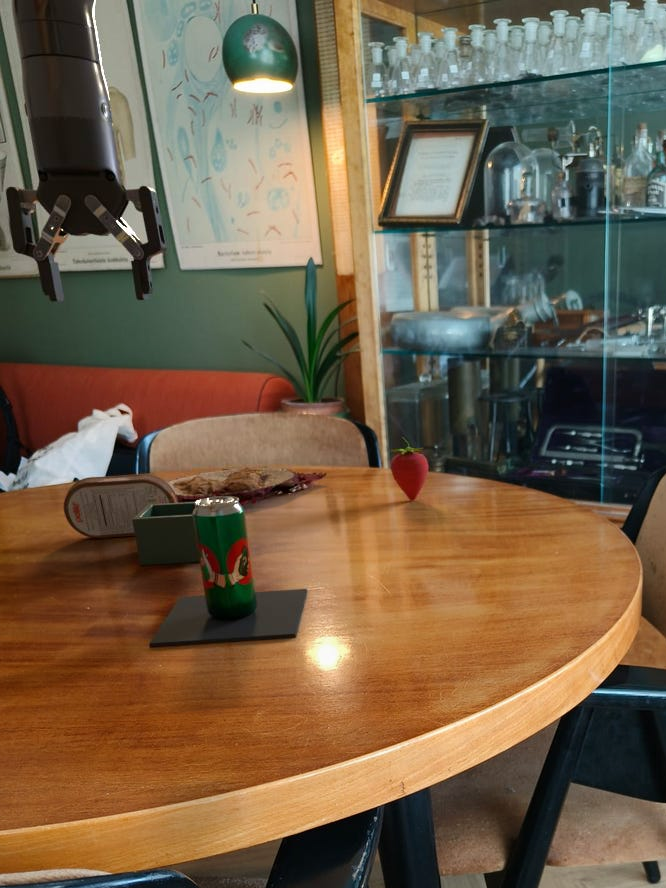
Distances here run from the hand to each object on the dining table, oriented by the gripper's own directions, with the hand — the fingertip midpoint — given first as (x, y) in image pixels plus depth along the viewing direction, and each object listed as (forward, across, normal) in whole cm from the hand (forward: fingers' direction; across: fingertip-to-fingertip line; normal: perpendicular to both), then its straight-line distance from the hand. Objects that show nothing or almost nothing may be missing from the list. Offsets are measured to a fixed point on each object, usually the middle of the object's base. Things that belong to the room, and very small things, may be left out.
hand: (100, 300), depth 90 cm
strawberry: (+31, -31, -39) cm, 59 cm away
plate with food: (+32, 0, -51) cm, 60 cm away
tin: (+32, +10, -26) cm, 42 cm away
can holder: (+31, -1, -14) cm, 34 cm away
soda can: (+31, -12, +11) cm, 35 cm away
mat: (+31, -12, +12) cm, 35 cm away
